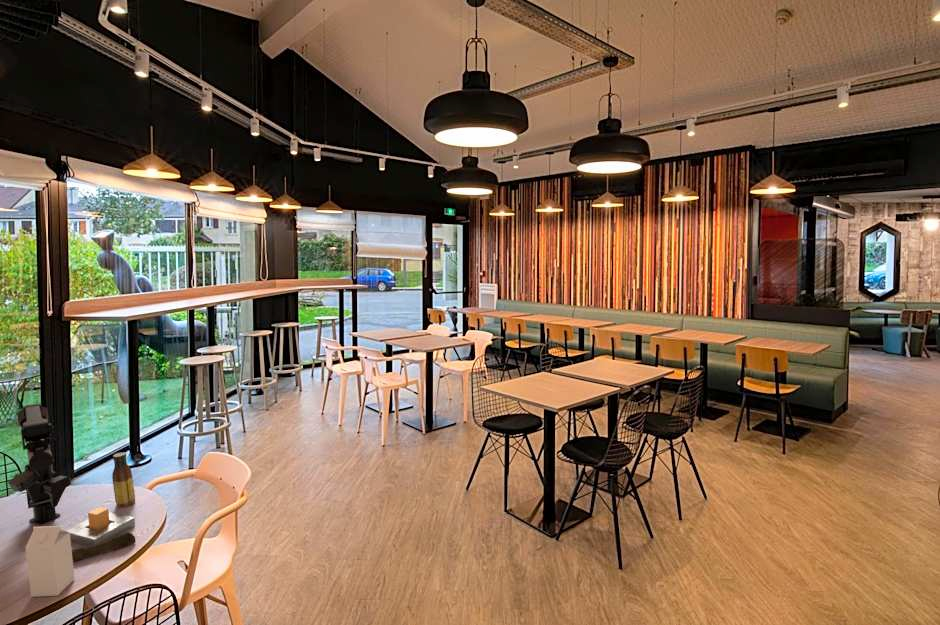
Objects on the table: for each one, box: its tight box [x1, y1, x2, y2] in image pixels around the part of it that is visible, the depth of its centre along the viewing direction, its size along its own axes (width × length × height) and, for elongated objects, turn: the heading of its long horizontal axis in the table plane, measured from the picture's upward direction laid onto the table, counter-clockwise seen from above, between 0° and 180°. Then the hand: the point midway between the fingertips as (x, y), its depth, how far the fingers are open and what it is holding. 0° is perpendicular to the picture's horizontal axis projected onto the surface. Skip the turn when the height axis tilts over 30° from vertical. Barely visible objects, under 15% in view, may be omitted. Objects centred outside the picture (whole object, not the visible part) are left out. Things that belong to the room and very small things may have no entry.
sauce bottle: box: [111, 452, 136, 508], centre depth 194 cm, size 7×6×20 cm
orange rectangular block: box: [87, 506, 110, 531], centre depth 176 cm, size 4×4×8 cm
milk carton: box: [25, 525, 76, 598], centre depth 147 cm, size 7×7×19 cm
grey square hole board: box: [65, 511, 136, 546], centre depth 177 cm, size 14×14×3 cm
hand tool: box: [72, 531, 136, 562], centre depth 165 cm, size 19×4×5 cm, turn 124°
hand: (44, 504), depth 172 cm, fingers open, 9 cm apart
